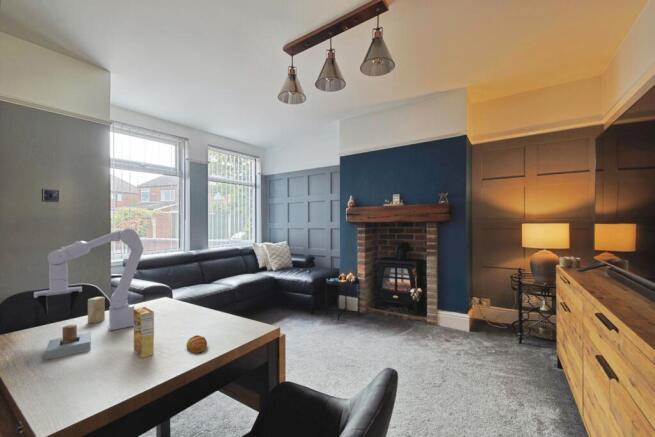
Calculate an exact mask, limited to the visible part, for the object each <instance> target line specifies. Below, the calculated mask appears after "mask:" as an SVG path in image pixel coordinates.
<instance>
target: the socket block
mask: <svg viewBox="0 0 655 437" xmlns="http://www.w3.org/2000/svg"><path fill="white" fill-rule="evenodd" d="M91 336H92V335H91V332H84V333H80V334H79V333H78V334H77V342H73V343H69V344H64V345H63V337H59V338H54V339H50V340H49V341H48V344H47V346H46V349H45V352H44V355H45V361H47V360H52V359H55V358H60V357H61V358H62V357H64V356H65V357H66V356H69V355H75V354H79V353H83V352H87V351H91V345H92V344H91V343H92V342H91V341H92V339H91V338H92V337H91Z"/></svg>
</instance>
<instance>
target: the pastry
mask: <svg viewBox="0 0 655 437" xmlns="http://www.w3.org/2000/svg"><path fill="white" fill-rule="evenodd" d="M207 346H208V341H207V339H206V337H204V336H201V335H199V334H198V335H193V336H192V337H190V338H189V339H188V340H187V342H186V346H185V347H186V349H187V350H188V351H189V352H190V353H192V352H193V354H198V353H200V352H201V353H202V352H204V351H206V349H207Z"/></svg>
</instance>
